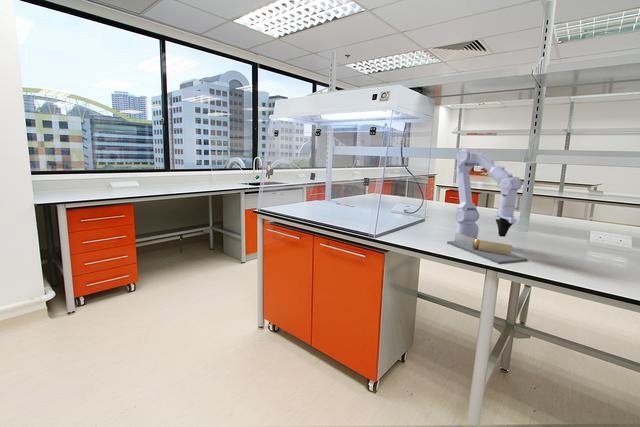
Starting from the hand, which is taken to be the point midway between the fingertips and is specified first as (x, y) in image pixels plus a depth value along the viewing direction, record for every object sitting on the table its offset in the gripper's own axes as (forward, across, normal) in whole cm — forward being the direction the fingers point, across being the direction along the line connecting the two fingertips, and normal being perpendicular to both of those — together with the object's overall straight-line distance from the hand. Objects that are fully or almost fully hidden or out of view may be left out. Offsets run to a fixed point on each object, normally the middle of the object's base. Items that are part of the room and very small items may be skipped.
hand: (501, 236), depth 137 cm
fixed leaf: (+7, -4, -14) cm, 16 cm away
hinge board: (+7, 0, -6) cm, 10 cm away
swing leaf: (+6, +4, -5) cm, 9 cm away
